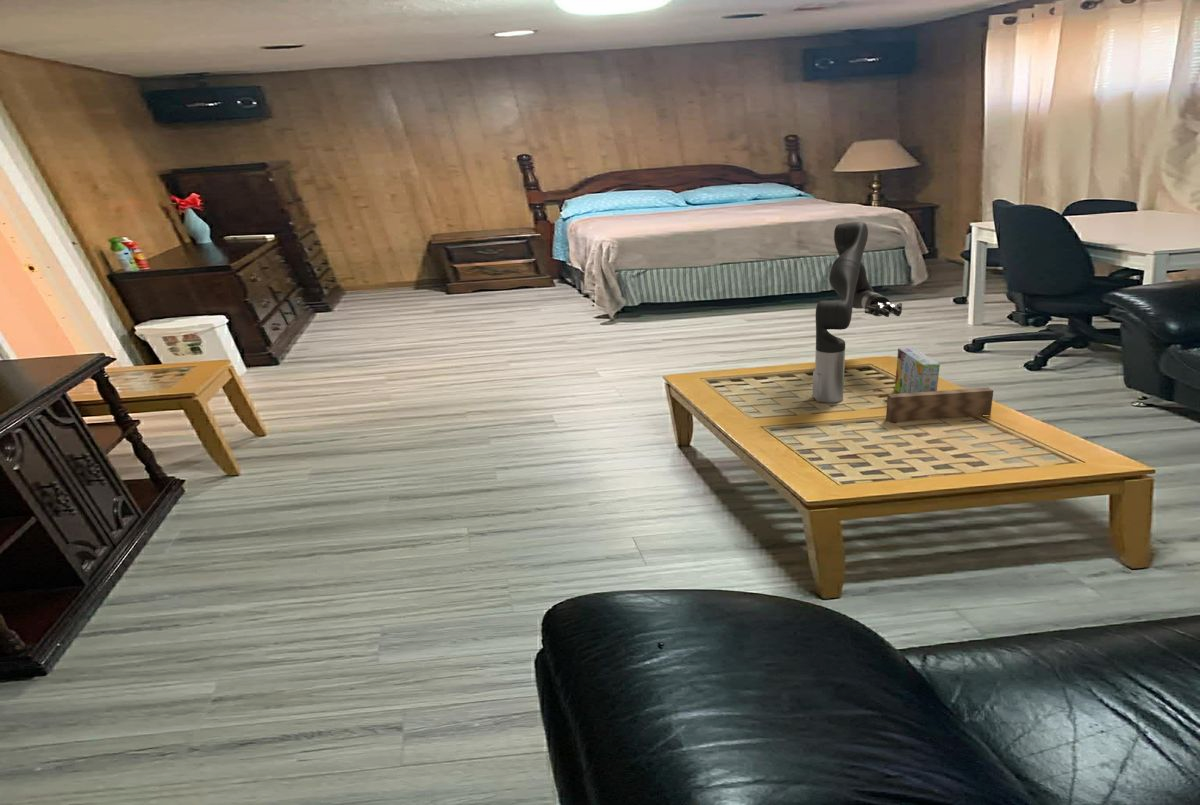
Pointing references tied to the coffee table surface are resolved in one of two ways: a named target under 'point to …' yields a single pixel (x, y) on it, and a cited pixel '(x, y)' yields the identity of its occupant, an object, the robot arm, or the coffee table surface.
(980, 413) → the board
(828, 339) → the robot arm
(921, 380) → the snack box
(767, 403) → the coffee table surface
